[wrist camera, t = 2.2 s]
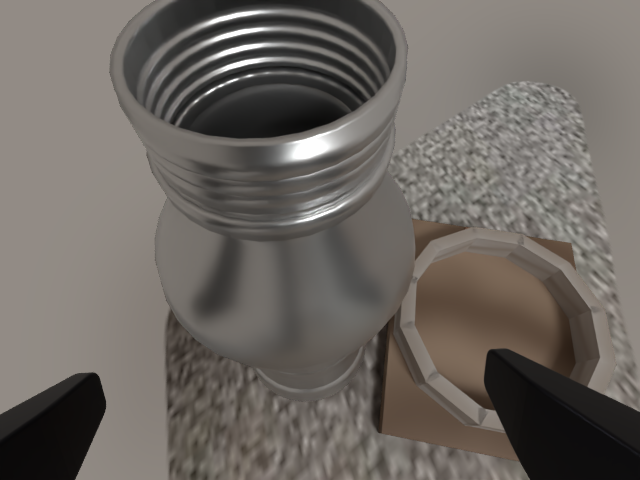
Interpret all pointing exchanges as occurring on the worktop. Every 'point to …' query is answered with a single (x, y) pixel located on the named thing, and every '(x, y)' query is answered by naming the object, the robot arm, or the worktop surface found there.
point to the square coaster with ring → (484, 332)
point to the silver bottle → (274, 177)
